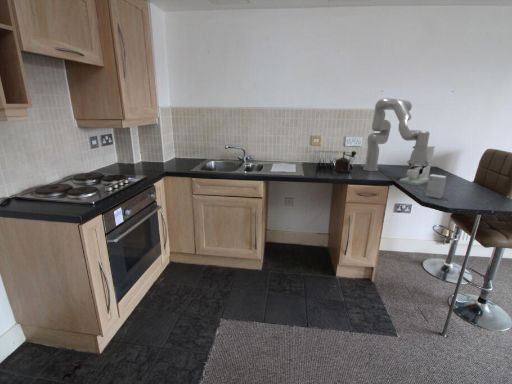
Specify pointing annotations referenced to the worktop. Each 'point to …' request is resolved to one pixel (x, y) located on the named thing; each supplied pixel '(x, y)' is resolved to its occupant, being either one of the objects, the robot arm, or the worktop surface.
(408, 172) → the power strip
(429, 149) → the tall grey block
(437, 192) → the small box
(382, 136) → the robot arm
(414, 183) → the mount board
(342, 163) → the dark piece
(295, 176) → the worktop surface
